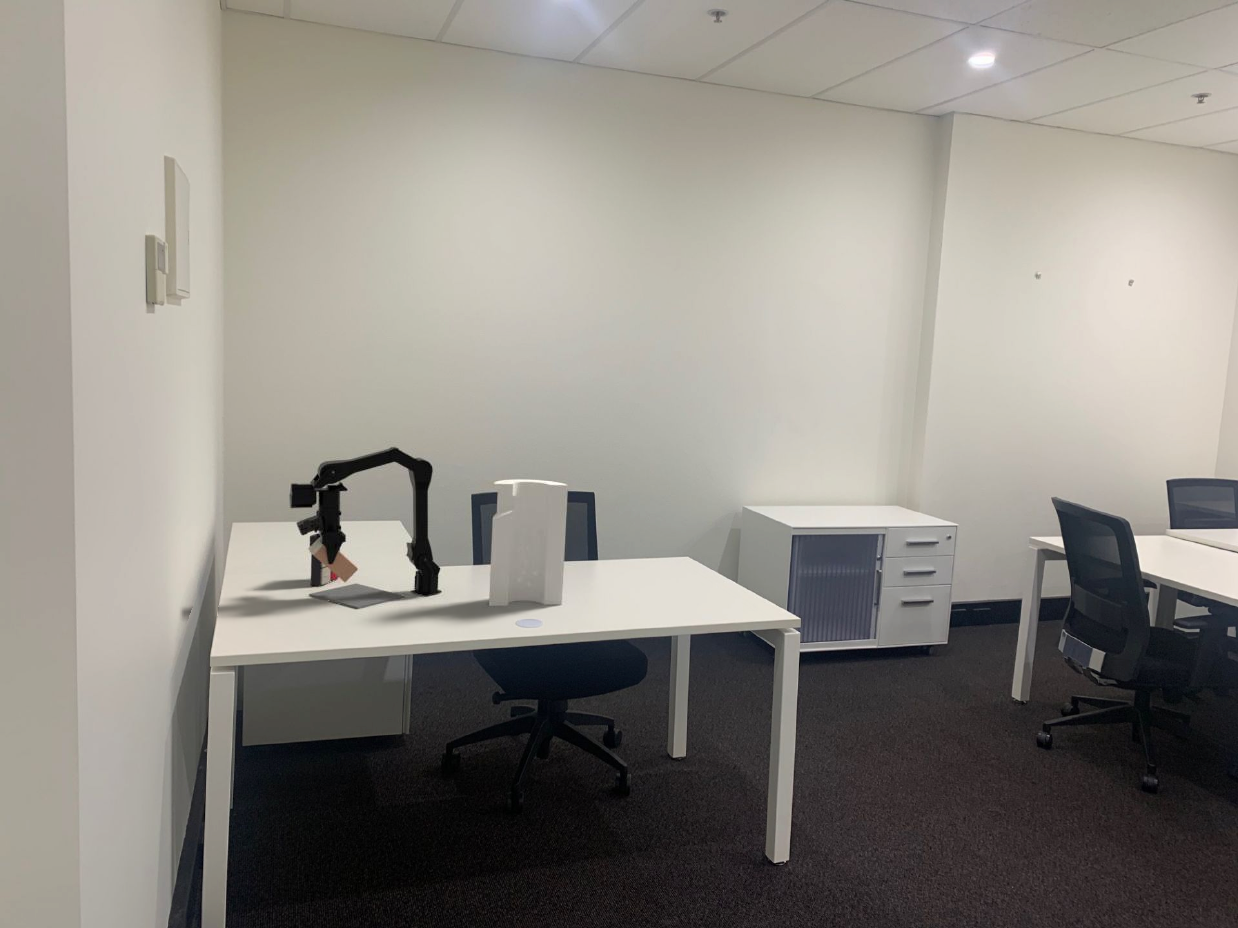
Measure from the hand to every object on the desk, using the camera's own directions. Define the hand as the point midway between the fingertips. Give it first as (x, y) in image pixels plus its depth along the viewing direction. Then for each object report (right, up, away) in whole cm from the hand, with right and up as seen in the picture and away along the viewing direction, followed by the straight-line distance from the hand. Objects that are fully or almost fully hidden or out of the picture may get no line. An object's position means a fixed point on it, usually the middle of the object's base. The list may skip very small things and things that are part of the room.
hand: (329, 561), depth 247 cm
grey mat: (+6, -10, +5) cm, 13 cm away
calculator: (-7, -8, +19) cm, 22 cm away
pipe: (+53, -13, +11) cm, 56 cm away
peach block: (+5, -4, +3) cm, 7 cm away
